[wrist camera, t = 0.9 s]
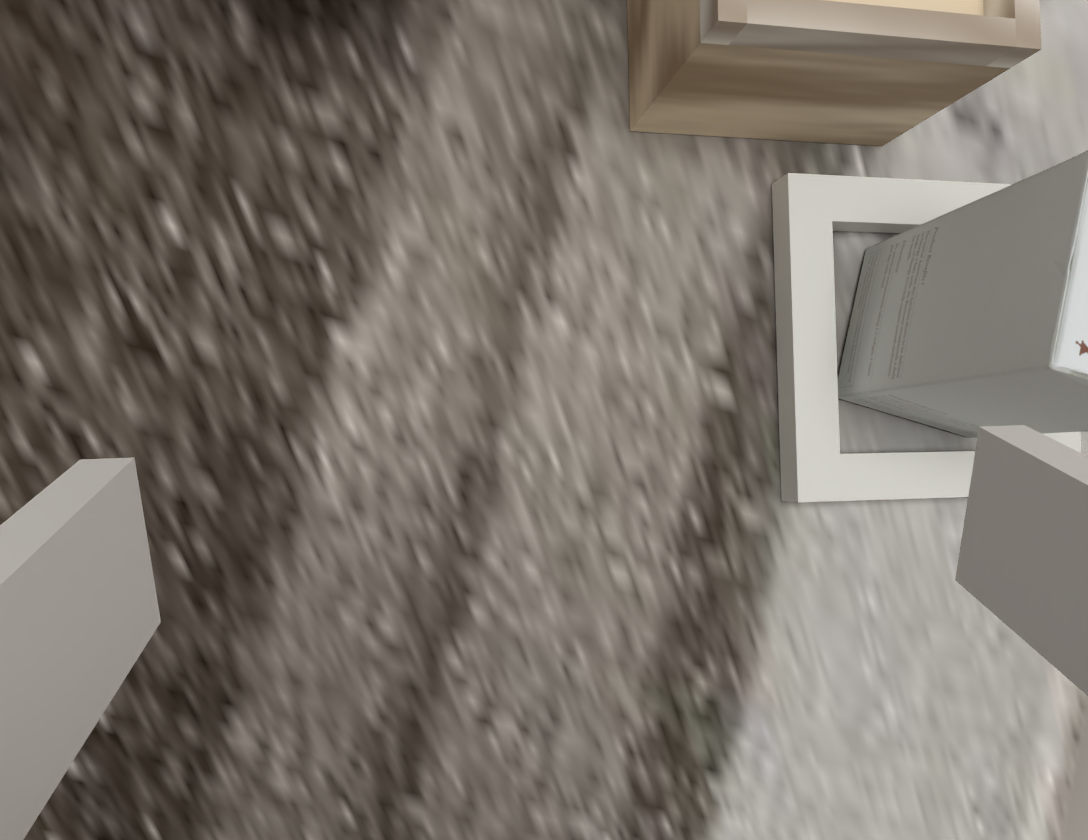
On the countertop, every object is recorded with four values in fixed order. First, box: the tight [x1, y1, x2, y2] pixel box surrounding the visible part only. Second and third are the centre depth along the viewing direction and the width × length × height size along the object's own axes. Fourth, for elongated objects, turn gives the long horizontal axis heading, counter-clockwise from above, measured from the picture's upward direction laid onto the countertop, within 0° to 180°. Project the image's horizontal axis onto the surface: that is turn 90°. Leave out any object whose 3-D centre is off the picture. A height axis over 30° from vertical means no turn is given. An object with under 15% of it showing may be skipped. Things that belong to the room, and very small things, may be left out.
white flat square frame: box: [772, 173, 1081, 502], centre depth 38 cm, size 14×14×2 cm
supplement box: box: [838, 151, 1088, 437], centre depth 33 cm, size 7×7×13 cm
